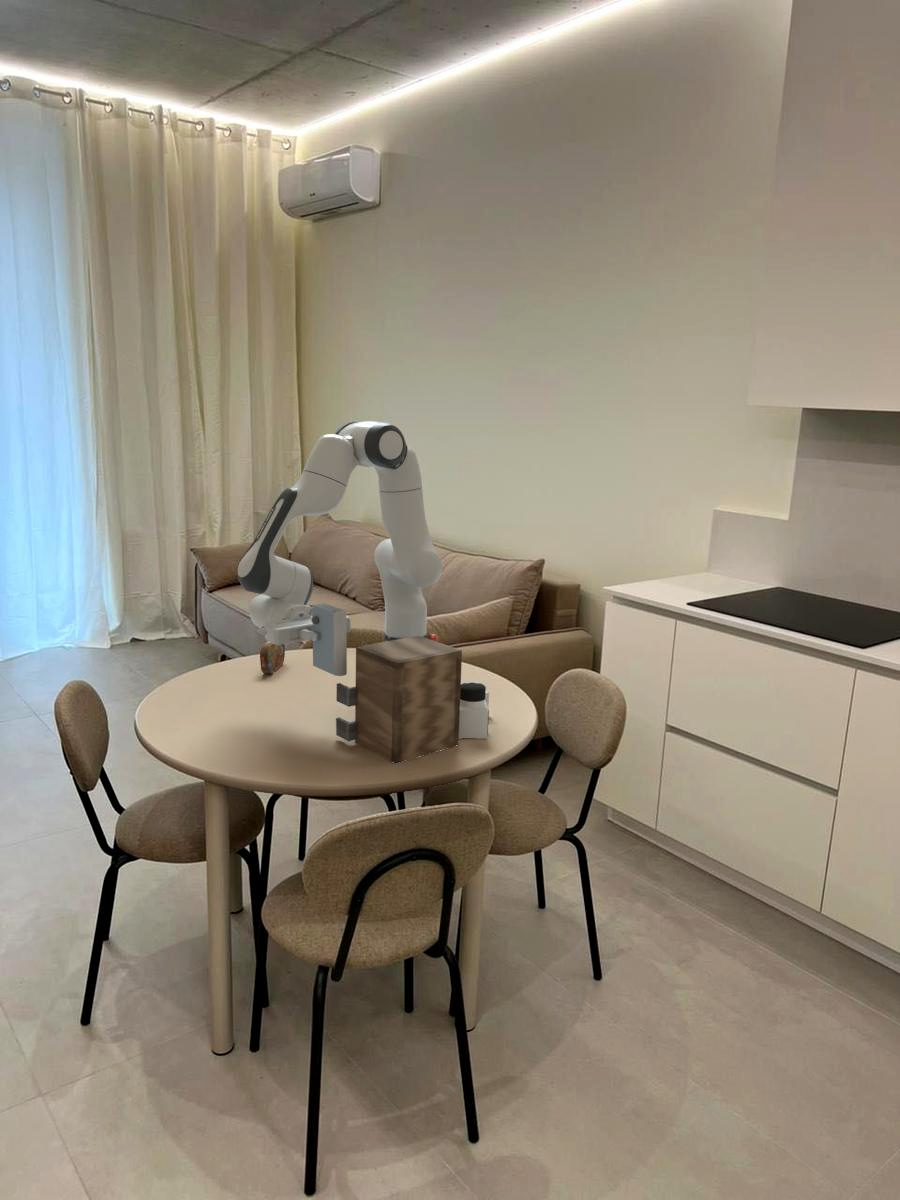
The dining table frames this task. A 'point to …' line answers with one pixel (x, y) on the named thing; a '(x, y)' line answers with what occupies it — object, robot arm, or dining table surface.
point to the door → (330, 639)
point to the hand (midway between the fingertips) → (326, 635)
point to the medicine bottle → (473, 711)
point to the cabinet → (404, 698)
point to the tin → (271, 657)
